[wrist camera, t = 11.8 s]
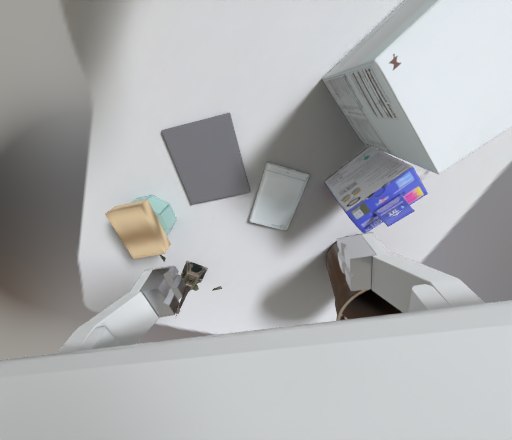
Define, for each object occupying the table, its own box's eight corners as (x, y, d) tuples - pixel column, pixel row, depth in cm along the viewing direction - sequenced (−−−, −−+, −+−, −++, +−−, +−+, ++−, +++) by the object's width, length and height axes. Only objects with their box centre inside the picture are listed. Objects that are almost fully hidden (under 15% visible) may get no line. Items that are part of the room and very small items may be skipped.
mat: (162, 130, 37) (161, 130, 37) (229, 112, 36) (229, 112, 35) (192, 202, 44) (191, 204, 43) (250, 191, 42) (249, 192, 42)
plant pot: (343, 213, 44) (380, 267, 30) (407, 240, 47) (469, 301, 33) (303, 269, 52) (318, 333, 37) (361, 289, 54) (395, 356, 40)
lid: (115, 206, 40) (105, 214, 37) (147, 199, 39) (139, 206, 36) (141, 249, 44) (133, 259, 42) (170, 244, 44) (164, 253, 41)
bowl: (124, 200, 44) (110, 210, 40) (164, 192, 43) (154, 201, 39) (144, 236, 48) (134, 248, 44) (181, 229, 47) (174, 241, 43)
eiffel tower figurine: (158, 251, 51) (127, 297, 39) (197, 240, 49) (175, 285, 38) (189, 294, 58) (169, 344, 46) (223, 286, 56) (213, 336, 44)
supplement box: (363, 145, 38) (435, 180, 22) (318, 78, 33) (369, 60, 17) (472, 61, 31) (681, 25, 16) (435, -35, 27) (678, -223, 11)
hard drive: (286, 231, 45) (310, 176, 39) (248, 221, 44) (267, 163, 38) (286, 227, 47) (308, 173, 41) (249, 218, 46) (266, 161, 40)
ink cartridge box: (338, 201, 43) (370, 245, 30) (322, 182, 41) (348, 219, 28) (386, 168, 39) (444, 201, 27) (370, 144, 37) (424, 168, 25)
